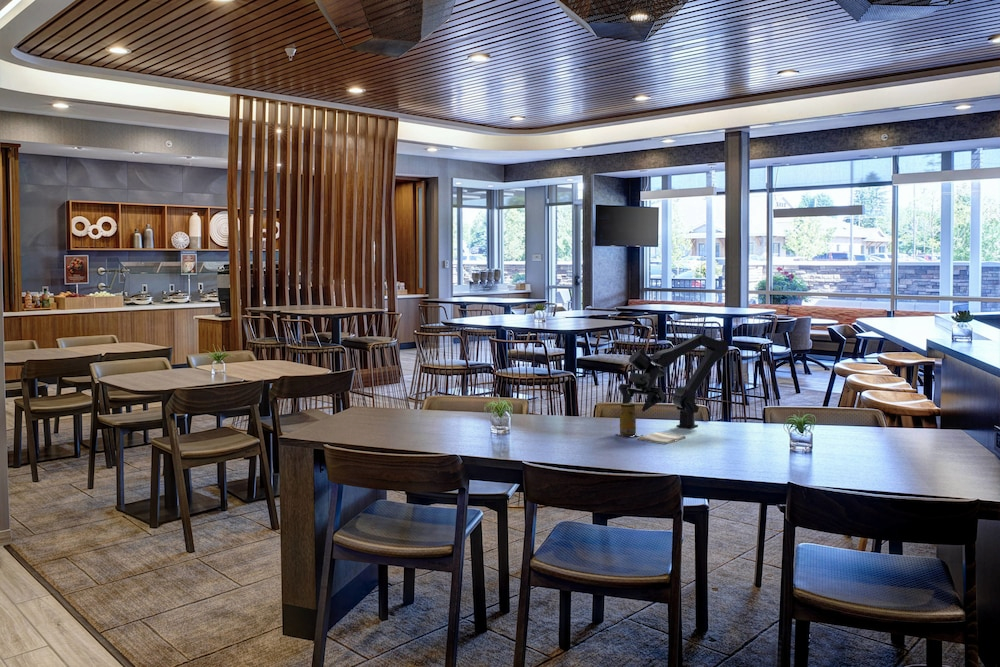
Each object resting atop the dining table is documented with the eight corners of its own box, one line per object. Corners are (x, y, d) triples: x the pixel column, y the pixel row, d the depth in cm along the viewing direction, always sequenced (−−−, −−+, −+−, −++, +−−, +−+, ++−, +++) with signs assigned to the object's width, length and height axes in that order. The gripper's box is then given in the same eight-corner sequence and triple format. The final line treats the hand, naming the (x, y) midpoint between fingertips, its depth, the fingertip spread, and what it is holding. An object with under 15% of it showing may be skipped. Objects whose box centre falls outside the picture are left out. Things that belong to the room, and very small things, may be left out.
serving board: (657, 433, 306) (657, 431, 306) (685, 438, 298) (685, 435, 298) (637, 439, 296) (637, 437, 296) (665, 444, 288) (665, 442, 287)
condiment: (627, 432, 310) (627, 401, 309) (644, 435, 303) (644, 404, 302) (614, 435, 305) (614, 404, 304) (631, 438, 299) (631, 406, 298)
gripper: (620, 363, 314) (604, 394, 307) (661, 366, 301) (644, 399, 294) (632, 381, 321) (616, 411, 314) (672, 385, 308) (656, 417, 301)
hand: (632, 409), depth 305 cm, fingers open, 9 cm apart
